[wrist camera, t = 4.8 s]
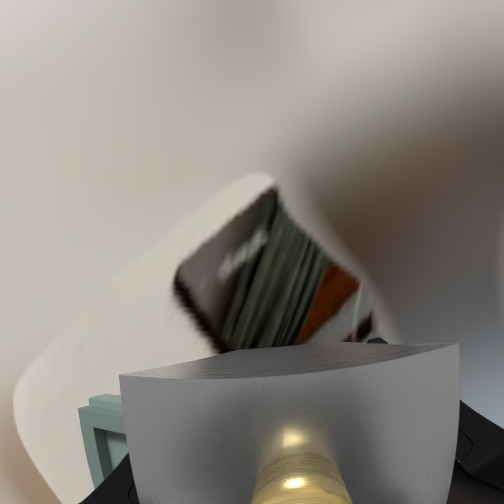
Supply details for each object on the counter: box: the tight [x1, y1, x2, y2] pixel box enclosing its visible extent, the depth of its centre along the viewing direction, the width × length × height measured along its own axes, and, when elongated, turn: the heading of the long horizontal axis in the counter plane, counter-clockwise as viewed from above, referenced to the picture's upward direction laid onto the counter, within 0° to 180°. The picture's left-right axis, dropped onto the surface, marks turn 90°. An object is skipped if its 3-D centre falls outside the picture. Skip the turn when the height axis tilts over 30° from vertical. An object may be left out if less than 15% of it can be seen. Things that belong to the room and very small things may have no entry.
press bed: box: [78, 394, 128, 489], centre depth 13 cm, size 10×9×3 cm
